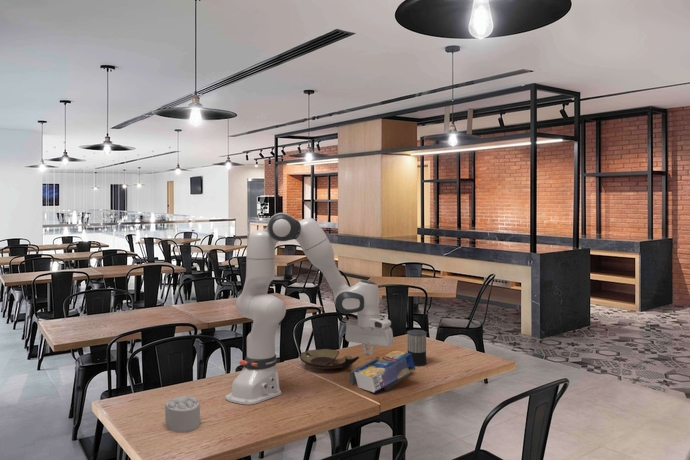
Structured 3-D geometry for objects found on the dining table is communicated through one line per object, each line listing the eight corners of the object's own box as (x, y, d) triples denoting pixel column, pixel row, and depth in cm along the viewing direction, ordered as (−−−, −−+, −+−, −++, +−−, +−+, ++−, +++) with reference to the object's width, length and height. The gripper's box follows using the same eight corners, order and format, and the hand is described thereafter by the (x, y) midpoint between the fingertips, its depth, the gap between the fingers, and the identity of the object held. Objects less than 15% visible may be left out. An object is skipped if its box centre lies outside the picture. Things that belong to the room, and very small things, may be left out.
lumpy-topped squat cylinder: (192, 415, 191) (192, 391, 190) (205, 427, 180) (205, 402, 180) (162, 422, 185) (162, 397, 185) (173, 435, 174) (173, 408, 174)
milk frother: (430, 365, 249) (430, 333, 248) (399, 369, 243) (399, 336, 243) (415, 357, 262) (415, 326, 262) (386, 360, 257) (386, 329, 256)
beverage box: (358, 387, 219) (398, 365, 231) (374, 392, 210) (415, 369, 222) (353, 371, 218) (394, 350, 230) (370, 376, 209) (411, 353, 221)
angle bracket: (387, 390, 215) (387, 378, 215) (349, 383, 223) (349, 371, 223) (411, 373, 237) (411, 362, 236) (376, 367, 245) (376, 356, 245)
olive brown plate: (331, 356, 264) (331, 341, 264) (367, 372, 239) (367, 355, 239) (290, 364, 252) (290, 347, 252) (323, 381, 227) (323, 363, 227)
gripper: (342, 319, 221) (342, 353, 221) (388, 324, 211) (388, 360, 211) (349, 316, 226) (350, 349, 227) (394, 321, 216) (394, 356, 217)
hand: (368, 354), depth 219 cm, fingers closed
